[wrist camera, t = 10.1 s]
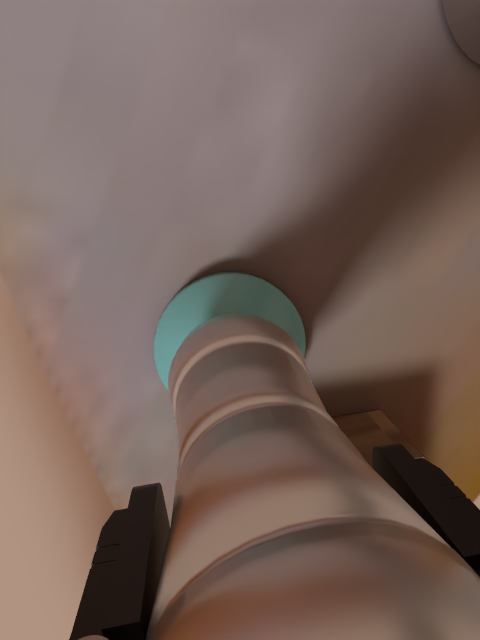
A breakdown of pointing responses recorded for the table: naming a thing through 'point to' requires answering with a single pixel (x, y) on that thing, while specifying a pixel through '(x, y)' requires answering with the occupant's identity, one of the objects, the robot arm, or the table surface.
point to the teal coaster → (221, 311)
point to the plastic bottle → (289, 512)
